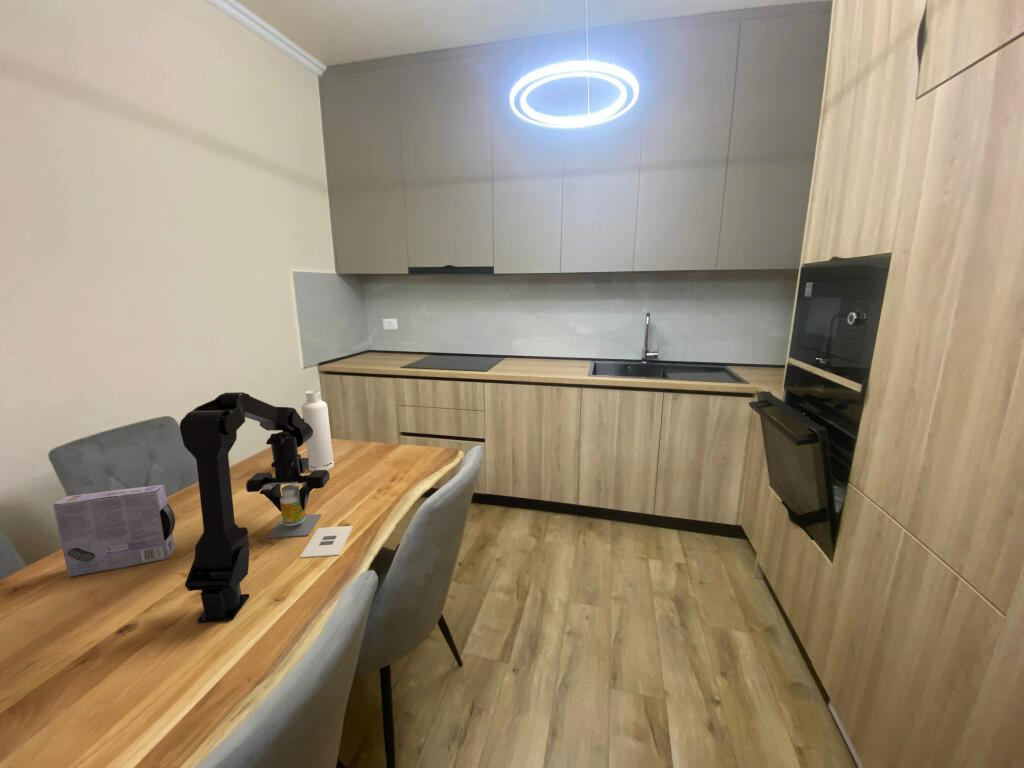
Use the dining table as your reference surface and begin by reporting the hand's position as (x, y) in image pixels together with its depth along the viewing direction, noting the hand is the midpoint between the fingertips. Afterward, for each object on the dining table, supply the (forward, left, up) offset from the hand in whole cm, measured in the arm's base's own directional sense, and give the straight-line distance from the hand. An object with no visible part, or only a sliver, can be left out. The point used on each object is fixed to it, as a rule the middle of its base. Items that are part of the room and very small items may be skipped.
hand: (293, 510), depth 107 cm
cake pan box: (-11, +33, -5) cm, 35 cm away
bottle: (+38, +6, -5) cm, 39 cm away
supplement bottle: (0, 0, -3) cm, 3 cm away
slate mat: (0, 0, -5) cm, 5 cm away
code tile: (-8, -11, -5) cm, 14 cm away
